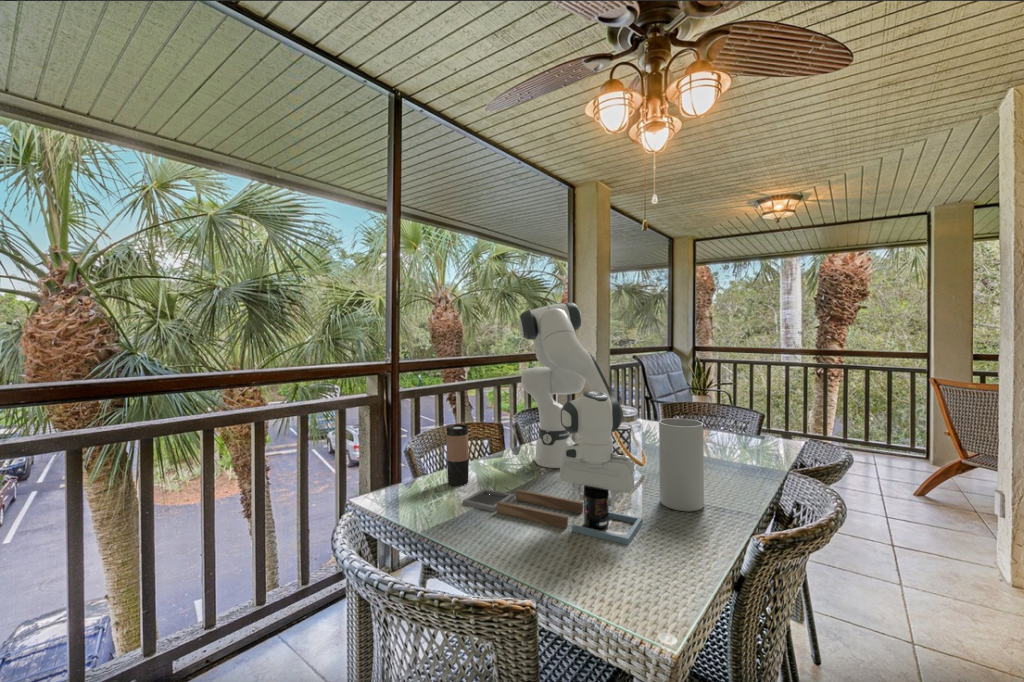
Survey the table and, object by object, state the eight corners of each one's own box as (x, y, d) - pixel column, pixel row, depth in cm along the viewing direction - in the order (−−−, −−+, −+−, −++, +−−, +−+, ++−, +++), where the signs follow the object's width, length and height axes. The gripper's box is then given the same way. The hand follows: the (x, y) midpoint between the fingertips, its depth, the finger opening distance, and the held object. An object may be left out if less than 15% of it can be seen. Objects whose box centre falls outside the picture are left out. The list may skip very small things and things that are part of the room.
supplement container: (597, 518, 123) (597, 481, 123) (614, 527, 118) (614, 489, 117) (578, 523, 120) (578, 486, 120) (595, 533, 114) (595, 493, 114)
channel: (517, 498, 139) (517, 489, 139) (583, 512, 128) (582, 502, 128) (497, 512, 128) (496, 502, 128) (566, 528, 117) (565, 517, 117)
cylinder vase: (708, 514, 125) (707, 427, 125) (662, 511, 128) (662, 426, 127) (698, 497, 137) (698, 418, 137) (657, 495, 140) (656, 417, 139)
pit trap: (484, 492, 145) (484, 488, 145) (514, 498, 139) (514, 494, 139) (462, 504, 135) (462, 500, 135) (494, 511, 129) (493, 507, 129)
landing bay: (590, 512, 127) (590, 507, 127) (642, 523, 120) (642, 517, 120) (571, 531, 115) (571, 526, 115) (628, 544, 108) (628, 538, 108)
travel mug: (467, 486, 150) (466, 429, 150) (445, 486, 151) (444, 429, 150) (470, 479, 158) (469, 424, 158) (449, 479, 158) (448, 424, 158)
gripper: (637, 454, 116) (637, 505, 116) (566, 444, 126) (566, 492, 126) (630, 460, 110) (631, 514, 110) (557, 449, 121) (557, 499, 121)
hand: (596, 502), depth 118 cm, fingers closed on supplement container, 6 cm apart
